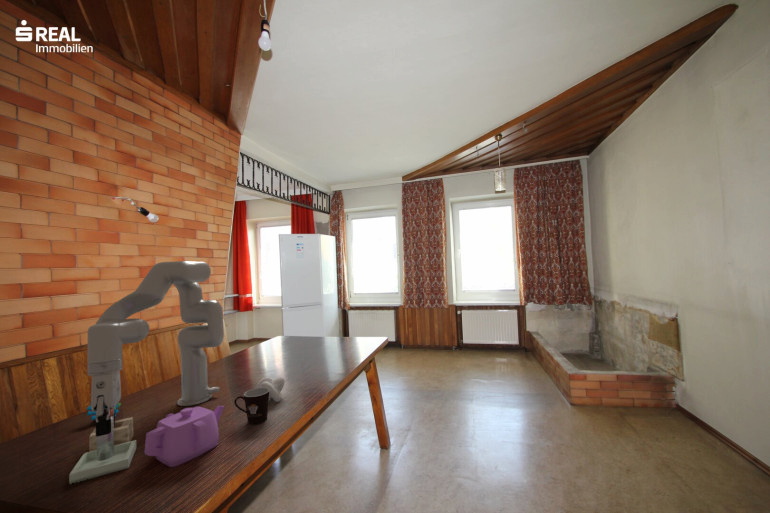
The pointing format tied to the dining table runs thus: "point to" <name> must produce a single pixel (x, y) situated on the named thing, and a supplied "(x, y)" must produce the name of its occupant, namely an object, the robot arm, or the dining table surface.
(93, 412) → the gear
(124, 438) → the socket block
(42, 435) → the dining table surface
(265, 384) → the grey torus knot
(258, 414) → the coffee mug
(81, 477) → the tray
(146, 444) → the teakettle
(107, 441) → the metal peg
